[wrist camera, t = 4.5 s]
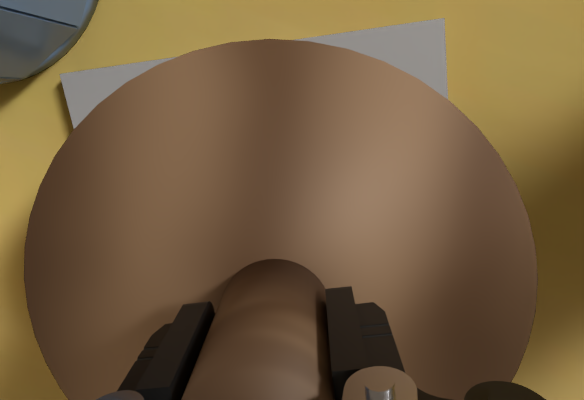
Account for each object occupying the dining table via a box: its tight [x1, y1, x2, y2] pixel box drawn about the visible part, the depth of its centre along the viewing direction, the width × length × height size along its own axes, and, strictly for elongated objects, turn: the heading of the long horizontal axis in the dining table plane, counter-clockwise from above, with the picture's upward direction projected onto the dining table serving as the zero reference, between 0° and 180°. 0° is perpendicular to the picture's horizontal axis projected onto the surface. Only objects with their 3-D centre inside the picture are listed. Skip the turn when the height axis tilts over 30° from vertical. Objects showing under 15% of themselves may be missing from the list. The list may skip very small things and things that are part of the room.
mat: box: [60, 18, 448, 129], centre depth 20 cm, size 16×16×1 cm
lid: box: [24, 39, 538, 400], centre depth 11 cm, size 15×15×6 cm
